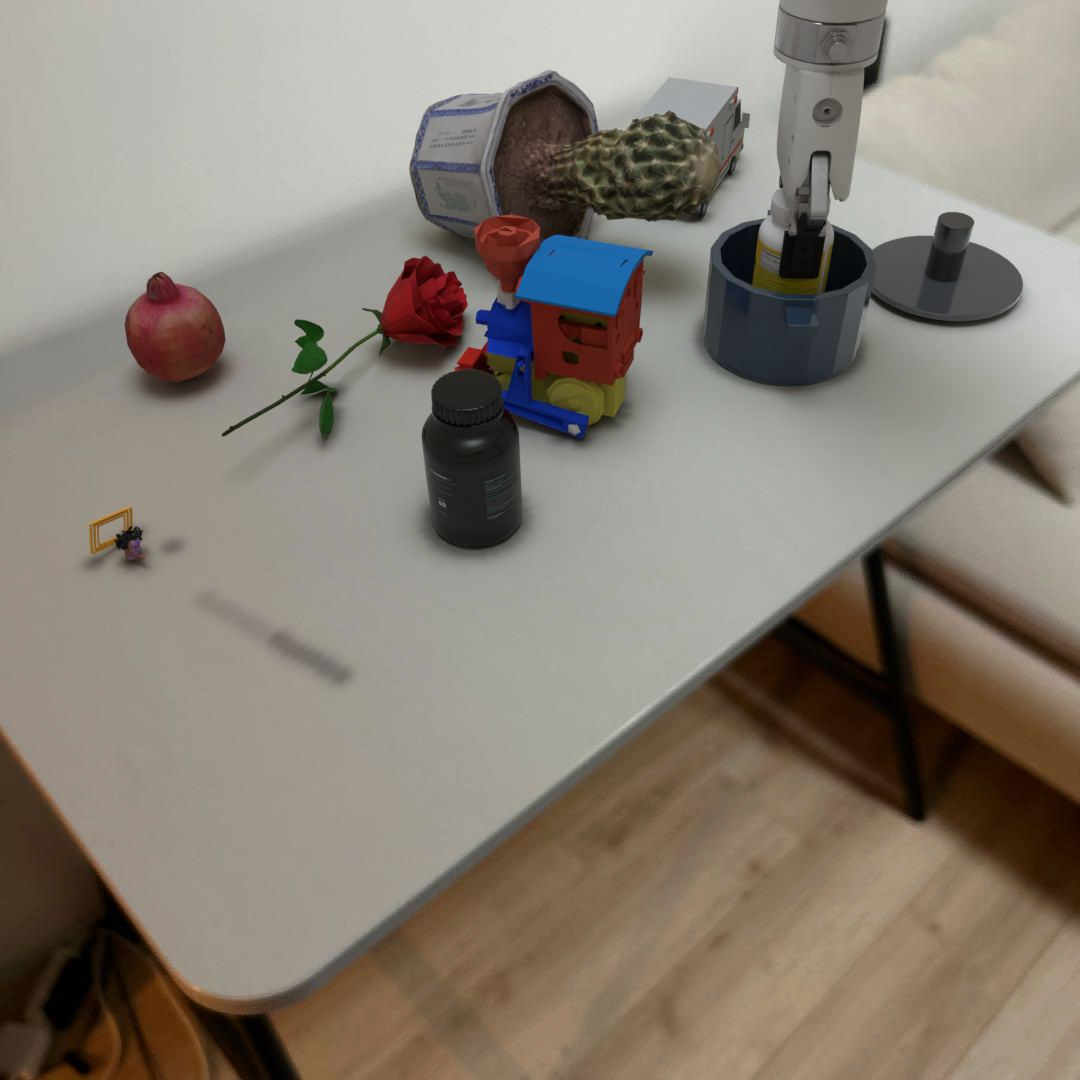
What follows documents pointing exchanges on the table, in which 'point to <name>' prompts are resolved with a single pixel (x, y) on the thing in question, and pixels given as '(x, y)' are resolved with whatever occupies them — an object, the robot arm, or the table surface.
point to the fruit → (174, 330)
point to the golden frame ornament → (119, 535)
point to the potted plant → (554, 161)
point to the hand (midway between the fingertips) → (794, 253)
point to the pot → (785, 312)
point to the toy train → (558, 322)
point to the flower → (387, 327)
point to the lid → (946, 274)
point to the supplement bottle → (472, 460)
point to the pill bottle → (772, 248)
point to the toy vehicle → (704, 117)
